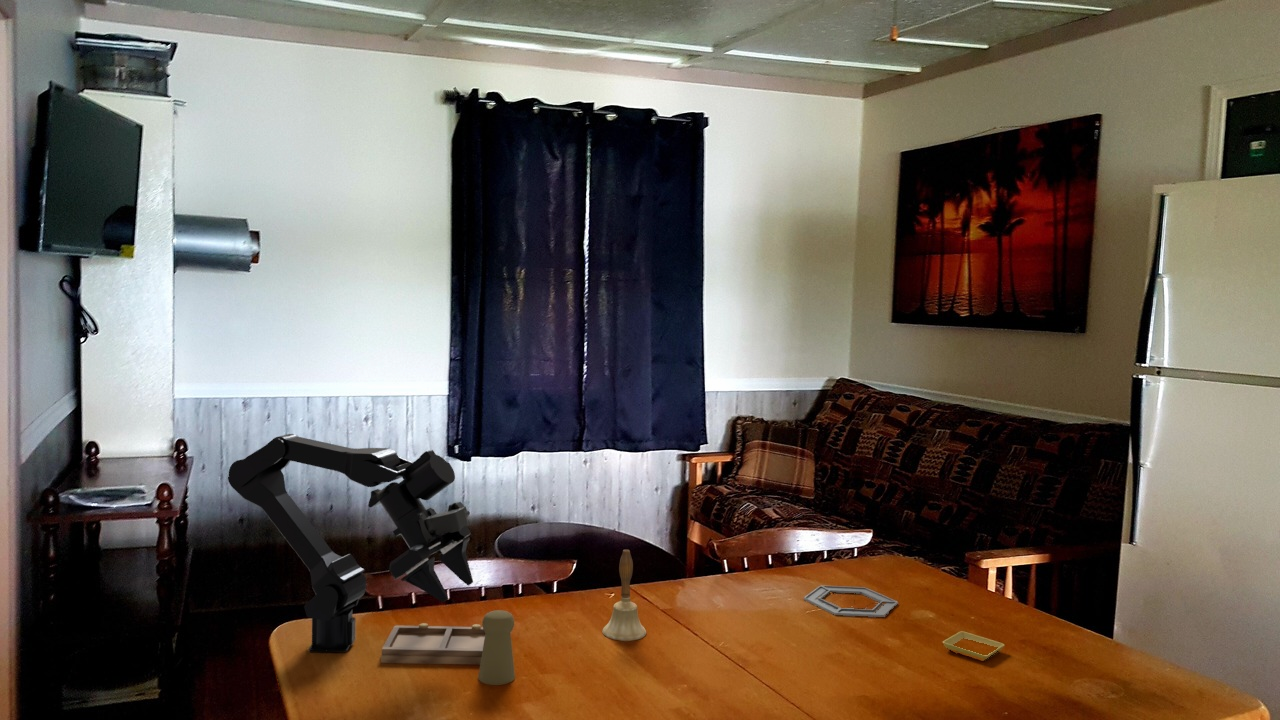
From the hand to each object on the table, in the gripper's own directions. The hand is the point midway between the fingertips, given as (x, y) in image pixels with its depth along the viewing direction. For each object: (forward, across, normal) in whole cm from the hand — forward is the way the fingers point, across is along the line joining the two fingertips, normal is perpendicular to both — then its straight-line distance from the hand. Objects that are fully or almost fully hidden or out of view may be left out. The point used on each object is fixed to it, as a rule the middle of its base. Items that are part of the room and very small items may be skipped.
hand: (458, 592), depth 160 cm
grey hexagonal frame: (+49, +60, -40) cm, 87 cm away
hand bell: (+24, +26, -9) cm, 36 cm away
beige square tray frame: (+64, +41, -59) cm, 96 cm away
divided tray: (+7, +6, +12) cm, 15 cm away
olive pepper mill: (+15, -2, +2) cm, 15 cm away
